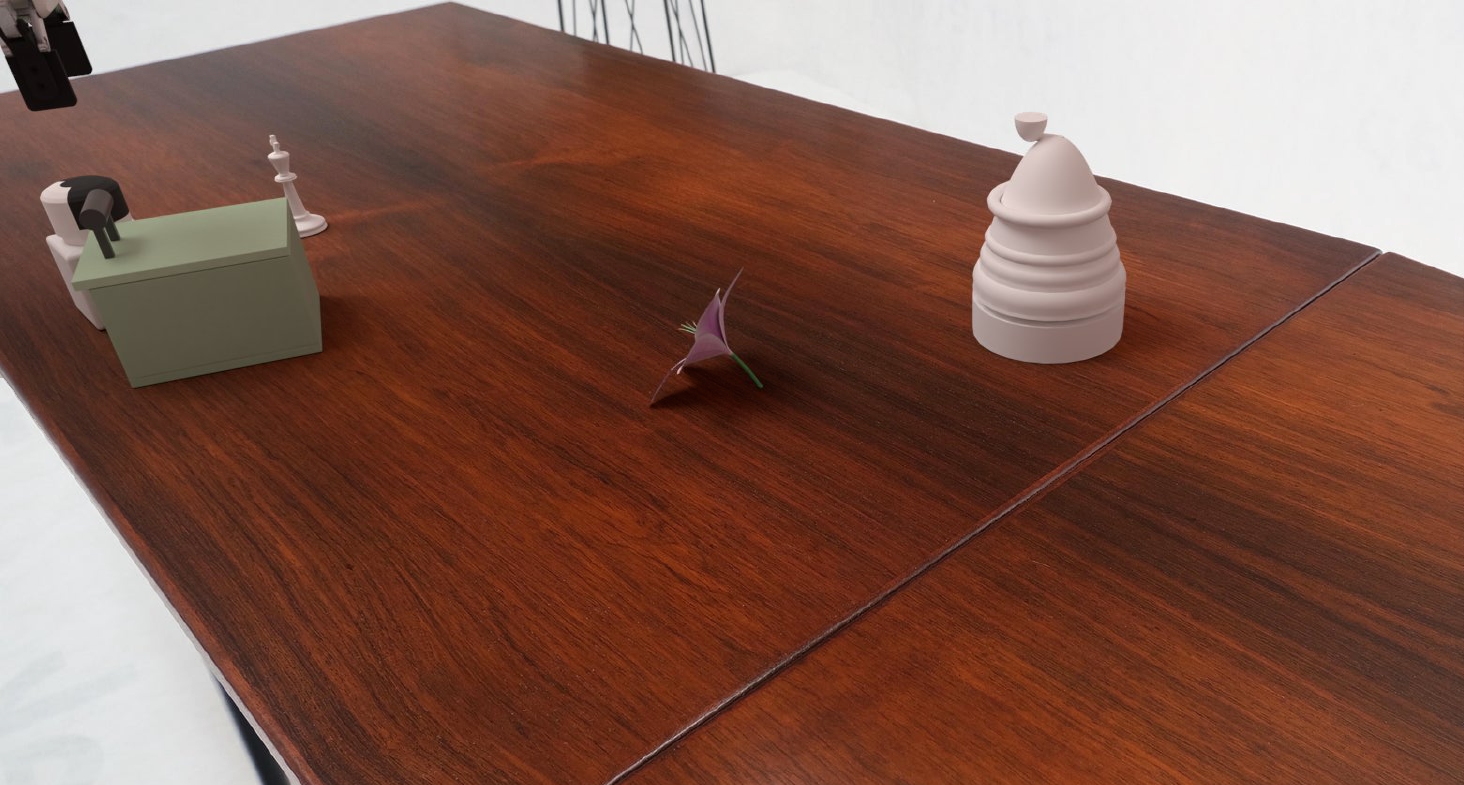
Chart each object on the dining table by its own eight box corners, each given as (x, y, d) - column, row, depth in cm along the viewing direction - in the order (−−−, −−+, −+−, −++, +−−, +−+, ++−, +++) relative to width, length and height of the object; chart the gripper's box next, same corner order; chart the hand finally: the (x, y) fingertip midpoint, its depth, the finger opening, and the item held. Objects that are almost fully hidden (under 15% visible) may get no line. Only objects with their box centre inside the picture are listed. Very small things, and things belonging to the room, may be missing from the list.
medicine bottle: (158, 284, 116) (108, 163, 109) (183, 306, 112) (132, 181, 105) (76, 308, 112) (19, 183, 105) (99, 332, 108) (41, 203, 101)
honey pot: (951, 350, 101) (949, 137, 91) (999, 288, 111) (1001, 89, 100) (1101, 374, 97) (1116, 154, 86) (1137, 307, 106) (1155, 102, 96)
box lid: (75, 292, 94) (47, 231, 91) (94, 235, 103) (70, 179, 100) (289, 255, 99) (269, 196, 96) (289, 205, 108) (271, 150, 105)
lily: (746, 348, 104) (677, 261, 99) (835, 335, 96) (764, 239, 91) (664, 446, 98) (587, 359, 93) (751, 441, 90) (671, 344, 85)
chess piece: (286, 242, 124) (254, 147, 119) (270, 229, 127) (238, 135, 122) (334, 229, 127) (305, 135, 121) (318, 217, 130) (288, 124, 124)
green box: (132, 388, 99) (88, 290, 94) (146, 326, 109) (106, 234, 104) (322, 351, 104) (290, 256, 99) (319, 295, 113) (289, 205, 108)
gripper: (-79, -164, 89) (25, 72, 99) (-140, -140, 76) (-13, 130, 85) (37, -172, 91) (128, 59, 101) (-3, -150, 78) (106, 114, 88)
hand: (63, 91), depth 93 cm, fingers open, 9 cm apart
